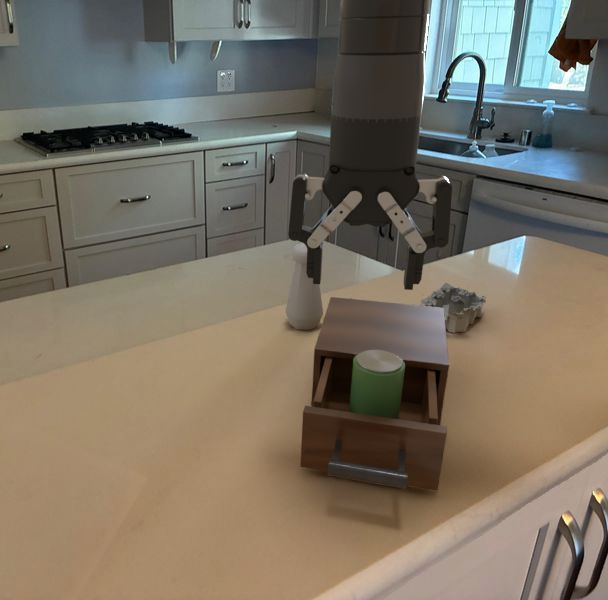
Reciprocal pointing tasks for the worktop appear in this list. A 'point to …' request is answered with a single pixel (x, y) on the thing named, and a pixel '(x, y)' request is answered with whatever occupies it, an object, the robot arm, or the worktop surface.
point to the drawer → (374, 432)
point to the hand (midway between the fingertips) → (362, 284)
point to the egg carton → (456, 306)
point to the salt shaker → (303, 294)
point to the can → (377, 384)
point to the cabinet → (385, 336)
